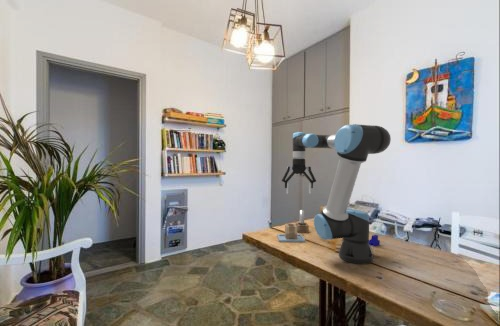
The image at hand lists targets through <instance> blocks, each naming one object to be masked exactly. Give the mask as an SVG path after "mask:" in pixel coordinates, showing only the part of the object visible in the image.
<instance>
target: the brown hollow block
mask: <svg viewBox="0 0 500 326" xmlns="http://www.w3.org/2000/svg"><path fill="white" fill-rule="evenodd" d="M295 224H296V226H297V234H309V228H310V226H309V224H307V222H304V225H300V222H295Z"/></svg>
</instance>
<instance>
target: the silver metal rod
mask: <svg viewBox="0 0 500 326" xmlns="http://www.w3.org/2000/svg"><path fill="white" fill-rule="evenodd" d="M298 213H299V217H298V219H299V222H298V223H300V225H304V223H305V210H304V209H299V211H298Z"/></svg>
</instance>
